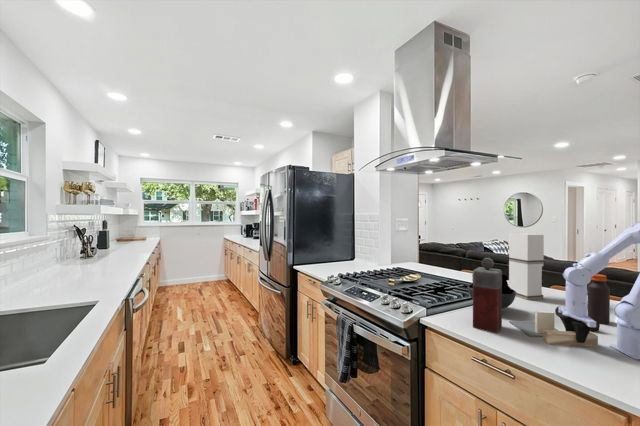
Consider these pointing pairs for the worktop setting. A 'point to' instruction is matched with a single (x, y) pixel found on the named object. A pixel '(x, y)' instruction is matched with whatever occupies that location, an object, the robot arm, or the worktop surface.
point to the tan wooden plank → (568, 338)
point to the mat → (528, 328)
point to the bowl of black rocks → (507, 292)
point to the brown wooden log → (562, 315)
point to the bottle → (599, 299)
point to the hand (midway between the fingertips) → (575, 339)
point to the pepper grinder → (487, 297)
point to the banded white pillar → (526, 265)
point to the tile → (544, 321)
